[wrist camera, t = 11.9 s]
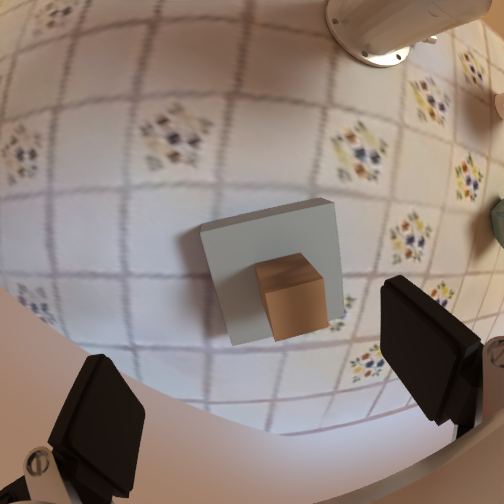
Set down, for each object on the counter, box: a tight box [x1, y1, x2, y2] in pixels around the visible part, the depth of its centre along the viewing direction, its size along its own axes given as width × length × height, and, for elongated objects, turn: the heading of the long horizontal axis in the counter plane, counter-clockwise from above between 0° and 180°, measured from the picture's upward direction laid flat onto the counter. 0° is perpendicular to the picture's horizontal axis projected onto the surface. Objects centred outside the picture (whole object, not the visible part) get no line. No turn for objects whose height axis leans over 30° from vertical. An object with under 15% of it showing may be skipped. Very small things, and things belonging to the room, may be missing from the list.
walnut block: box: [254, 252, 328, 342], centre depth 27 cm, size 5×5×7 cm
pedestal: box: [200, 198, 344, 346], centre depth 32 cm, size 14×14×4 cm
